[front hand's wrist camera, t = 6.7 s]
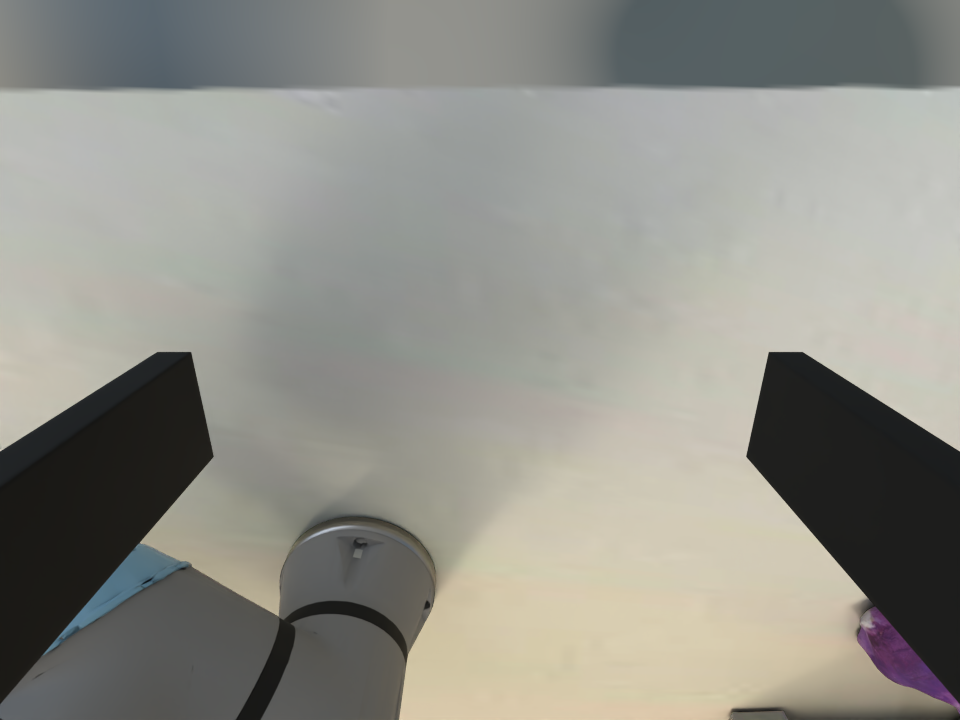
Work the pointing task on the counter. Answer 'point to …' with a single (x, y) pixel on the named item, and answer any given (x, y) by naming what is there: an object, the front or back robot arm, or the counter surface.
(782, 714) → the grey box with legs
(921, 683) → the figurine
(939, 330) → the counter surface
